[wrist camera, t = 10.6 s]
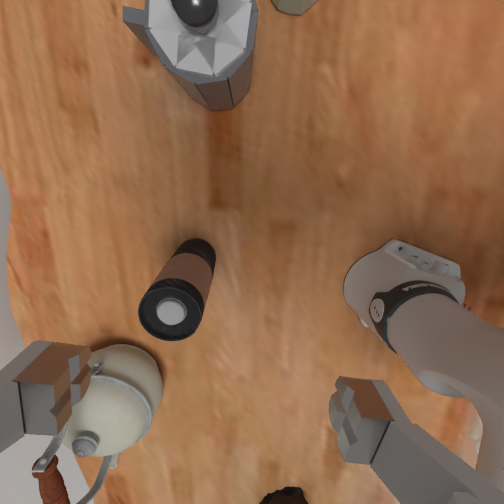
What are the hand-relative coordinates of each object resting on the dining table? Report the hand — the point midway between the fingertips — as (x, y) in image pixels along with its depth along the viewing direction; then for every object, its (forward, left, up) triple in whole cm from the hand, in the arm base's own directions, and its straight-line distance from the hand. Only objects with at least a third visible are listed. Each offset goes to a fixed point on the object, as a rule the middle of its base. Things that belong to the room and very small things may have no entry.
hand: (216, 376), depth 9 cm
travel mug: (+6, +12, -41) cm, 43 cm away
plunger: (+6, -18, -32) cm, 38 cm away
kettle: (+18, +42, -41) cm, 62 cm away
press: (+7, -18, -41) cm, 45 cm away
